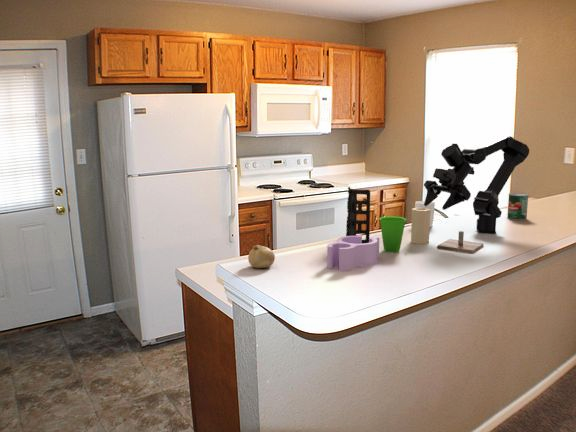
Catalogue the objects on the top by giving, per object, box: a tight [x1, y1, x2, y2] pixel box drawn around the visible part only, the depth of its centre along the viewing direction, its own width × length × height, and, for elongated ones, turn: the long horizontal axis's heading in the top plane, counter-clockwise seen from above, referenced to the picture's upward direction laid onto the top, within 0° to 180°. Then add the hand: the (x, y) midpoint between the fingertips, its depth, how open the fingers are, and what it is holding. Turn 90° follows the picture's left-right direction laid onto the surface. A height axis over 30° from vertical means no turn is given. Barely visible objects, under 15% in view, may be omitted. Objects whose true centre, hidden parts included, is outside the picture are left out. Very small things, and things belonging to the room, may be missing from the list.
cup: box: [378, 215, 407, 254], centre depth 172 cm, size 9×9×11 cm
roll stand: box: [436, 230, 485, 254], centre depth 176 cm, size 12×12×6 cm
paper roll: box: [410, 207, 431, 245], centre depth 184 cm, size 6×6×12 cm
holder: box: [345, 186, 371, 244], centre depth 181 cm, size 11×8×20 cm
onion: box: [247, 244, 276, 269], centre depth 154 cm, size 8×8×7 cm
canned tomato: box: [507, 192, 529, 221], centre depth 226 cm, size 8×8×11 cm
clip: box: [326, 234, 380, 272], centre depth 158 cm, size 20×12×7 cm, turn 141°
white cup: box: [414, 200, 436, 228], centre depth 212 cm, size 8×8×10 cm
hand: (433, 207), depth 186 cm, fingers open, 9 cm apart
